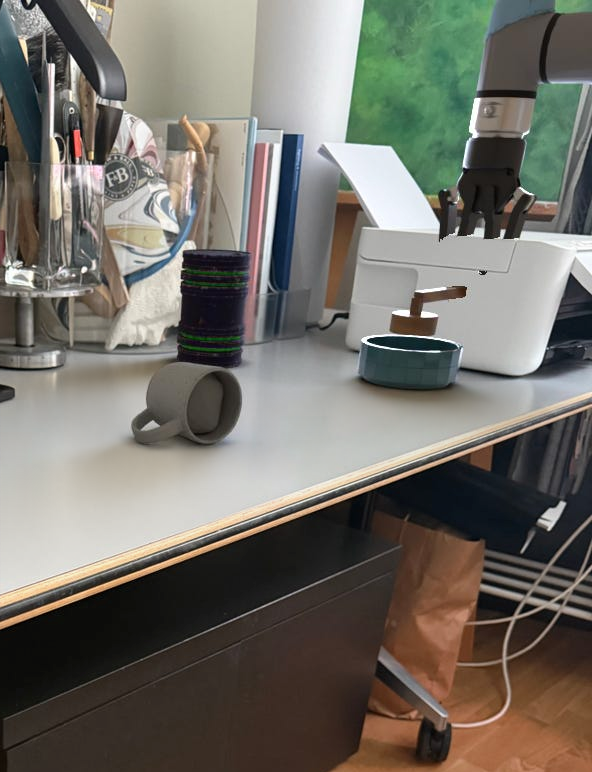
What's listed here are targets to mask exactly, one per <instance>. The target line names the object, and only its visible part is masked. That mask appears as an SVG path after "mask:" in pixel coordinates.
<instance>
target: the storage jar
mask: <svg viewBox="0 0 592 772" xmlns="http://www.w3.org/2000/svg"><path fill="white" fill-rule="evenodd" d="M181 255H182V257H181V258H182V262H181V269H182V270H180V276H179V277H180V280H181V281H180V286H179V292H180V294H181V302H180V303H181V304H180V318H179V319H180V320H178V322H177V324H178V325H177V332H178V333H177V334H176V343H177V344H178V345H177V348H176V349H177V355H176V363H177V362H187V363H193V364H200V365H207V366H217V367H222V368H225V369H227V368H234V367H238V366H241V365H242V364H243V358H242V355H243V352H244V348H243V347H244V346H245V340H246V338H245V334H246V332H247V329H246V324H245V312H246V302H247V301H246V300H247V296H248V295H249V291H250V289H249V288H250V284H249V283H250V282H251V273H250V271H251V263H250V261H251V260H252V252H249V251H244V250H243V251H242V250H231V249H212V248H210V249H209V248H205V249H204V248H199V249H198V248H197V249H196V248H195V249H193V248H192V249H185V250H182V254H181Z"/></svg>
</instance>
